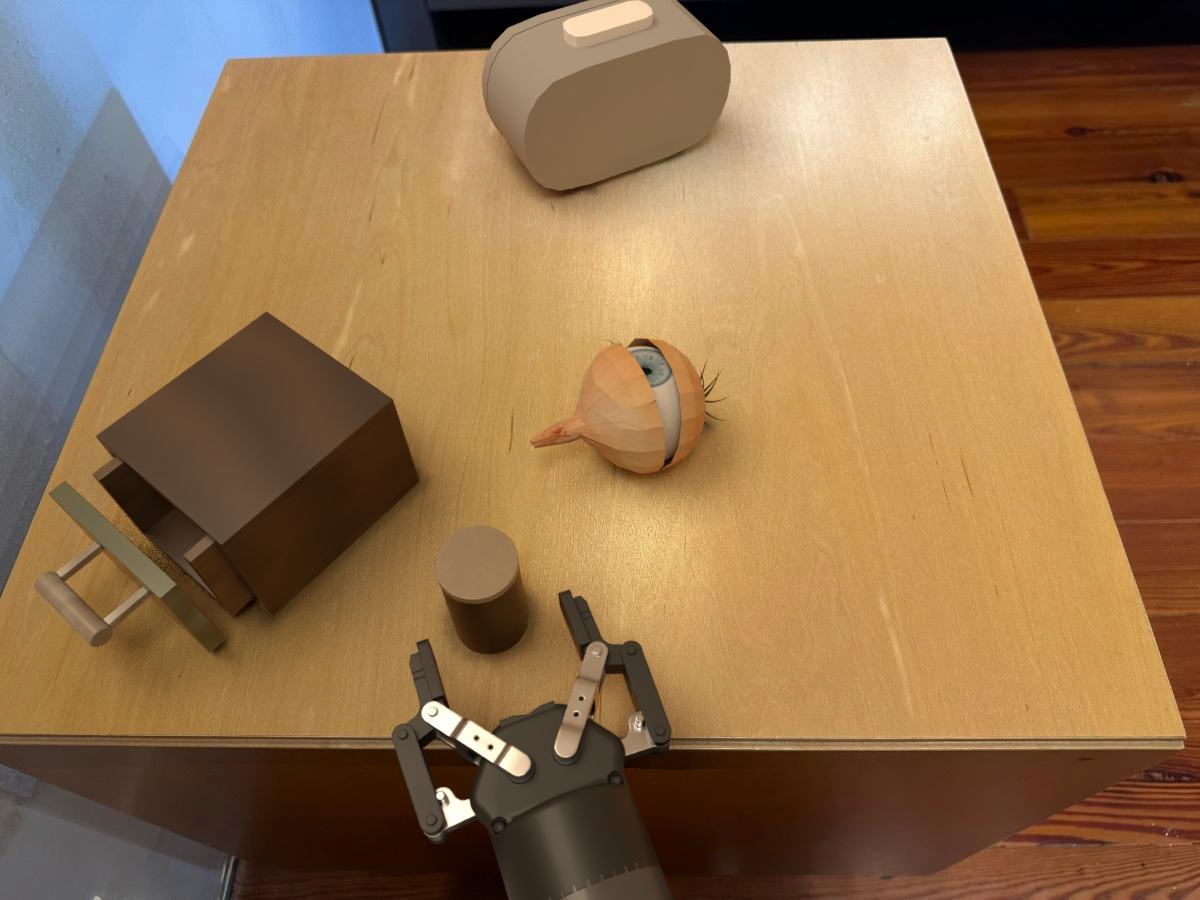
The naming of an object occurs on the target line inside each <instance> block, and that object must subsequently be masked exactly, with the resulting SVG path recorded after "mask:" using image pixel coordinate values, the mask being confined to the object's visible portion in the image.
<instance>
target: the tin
mask: <svg viewBox="0 0 1200 900" xmlns="http://www.w3.org/2000/svg"><path fill="white" fill-rule="evenodd" d="M434 573H435V577H436V580H437V583H438V585H439V587H440V589H441V592H442V595H443V598H444V601H445V603H446V606H447V609H448V612H449V615H450V618H451V621H452V623H453V626H454V629H455V632H456V635H457V638H458V639H459V641H460V642H461V643H462V644H463V645H464V646H465V647H466V648H468V649H469V650H471V651H472V652H476V653H478V654H483V655H495V654H500V653H503V652H505V651H508V650H509V649H511V648H513V647H514V646H515V645H516V644H518V643H519V642H520V640H521V639H522V637H524V635H525V633H526V631H527V628H528V625H529V610H528V606H527V605H528V604H527V600H526V596H525V595H526V594H525V590H524V584H523V578H522V573H521V568H520V559H519V551H518V549H517V547H516V544H515V542H514V541H513V540H512V539H511V537H510V536H509V535H507V534H506V533H505V532H504V531H502V530H500V529H498V528H495V527H492V526H489V525H472V526H467V527H463V528H462V529H459V530H457V531H455V532H454V533H452V534H451V535H448V537H447V538H446V539H445V540H444V541H443V542H442V544H441V545H440V546H439V548H438V550H437V552H436V555H435V559H434Z"/></svg>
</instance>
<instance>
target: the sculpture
mask: <svg viewBox="0 0 1200 900" xmlns="http://www.w3.org/2000/svg"><path fill="white" fill-rule="evenodd" d="M607 342H610V343H611V344H610V345H608V346H606V347H604V348H603V349H600V350H599V351H598V352H597V354H596V355H595V357H594V358H593V359H592V361H591V363H590V365H589V366H588V368H586V370H585V372H584V375H583V379H582V382H581V386H580V390H579V394H578V398H577V401H576V405H575V409H574V414H573V415H572V416H570V417H568V418H565V419H562V420H561V421H558V422H556V423H554V424H552V425H551V426H549V427H547V428H546V429H544V430H543V431H541V432H540V433H537V434H536V435H534V437H532V438H531V439H530V440H529V442H530V444H531V446H532V448H534V449H539V448H546V447H552V446H558V445H563V444H569V443H571V442H576V441H578V440H583V441H584V442H585V443H586V444H587V445H589V446H590V447H591V448H593V449H594V450H595V451H597V452H598V453H599V454H600V455H602V456H603V457H604V458H605V459H606V460H608V461H610V462H611V463H613V464H614V465H615V466H616V467H619V468H622V469H625V470H628V471H631V472H634V473H637V474H641V475H642V474H649V473H655V472H656V473H657V472H659V471H663V470H665V469H667V468H670V467H671V466H674V465H676V464H678V463H679V462H680V461H681V460H683V459H684V458H685V457H687V455H688V454H689V453H690V452H691V451H692V450H693V448H694V447H695V446H696V445H697V443H698V440H700V439H699V438H700V437H701V434H702V433H703V431H704V425H706V426H707V427H708V428H710V429H711V430H713V431H715V432H716V430H715V429H714V428H712V427H711V426H710V425H709V424H708V423H707V422H706V421H705V420H706V415H707V416H708V417H710V418H712V419H713V420H716V421H717V420H718V421H721V422H726V420H725V419H721V418H717V417H715V416H713V415H711V414H710V413H709V412H708V411H707V409H706V408H707V404H711V403H712V404H714V403H718V402H721V401H724V400H726V399H727V398H729V396H726V397H724V398H722V399H717V400H706V398H707V397H708V396H709V395H710V394H711V392H712V391H713V389H714V387H715V385H716V383H717V380H718V377H719V376H720V375H721V373H722V371H723V369H724V368H722V369H721V370H720V369H717V375H716V376H715V378H714V379H713V380H712V381H710V383H709V384H708V385H707V386H706V387H705V380H704V377H703V375H704V372H705V368H706V365H707V362H708V359H709V357H707V359H706V361H705V363H704V366H703V368H702V372H701V371H700V369H699V372H700V375H699V374H698V371H697V370H696V366H694V364H693V363H692V361H691V359H690V358H689V356H688V355H686V354H685V353H683V352H682V351H681V350H679V349H678V348H677V347H675V346H673V345H672V344H670V343H668V342H667V341H666V340H663V339H655V338H653V339H652V338H645V337H644V338H640V337H639V338H638V337H635V338H634V339H632V341H631V342H630V343H629V344H628V345H627V347H626V346H624V344H622V342H621V343H620V342H619V341H617V342H616V341H615V342H613V341H611V340H609V339H607ZM719 370H720V372H719ZM706 403H707V404H706Z"/></svg>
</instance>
